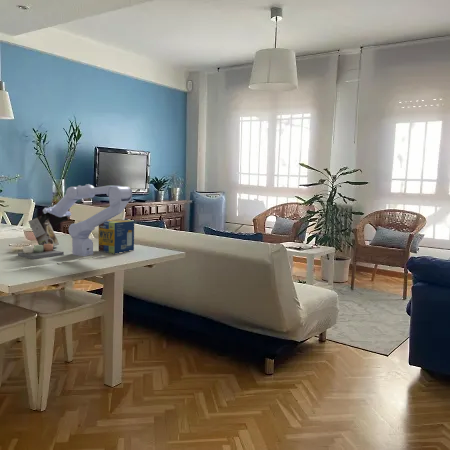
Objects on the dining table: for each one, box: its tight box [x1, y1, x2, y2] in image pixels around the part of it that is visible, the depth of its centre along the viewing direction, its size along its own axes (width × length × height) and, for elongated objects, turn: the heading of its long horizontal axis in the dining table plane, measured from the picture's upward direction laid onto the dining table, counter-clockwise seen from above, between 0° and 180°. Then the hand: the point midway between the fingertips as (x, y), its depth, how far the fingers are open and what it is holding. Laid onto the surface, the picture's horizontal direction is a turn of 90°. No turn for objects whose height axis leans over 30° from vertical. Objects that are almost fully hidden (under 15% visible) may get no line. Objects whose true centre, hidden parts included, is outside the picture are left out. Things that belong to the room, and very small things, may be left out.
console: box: [17, 249, 65, 260], centre depth 205 cm, size 12×15×2 cm
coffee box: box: [28, 215, 60, 250], centre depth 224 cm, size 9×6×16 cm
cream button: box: [22, 245, 34, 254], centre depth 202 cm, size 4×4×3 cm
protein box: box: [98, 218, 135, 255], centre depth 228 cm, size 10×15×16 cm
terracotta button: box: [44, 244, 54, 251], centre depth 210 cm, size 4×4×3 cm
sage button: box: [33, 244, 43, 253], centre depth 206 cm, size 4×4×3 cm
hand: (47, 223), depth 218 cm, fingers open, 7 cm apart
